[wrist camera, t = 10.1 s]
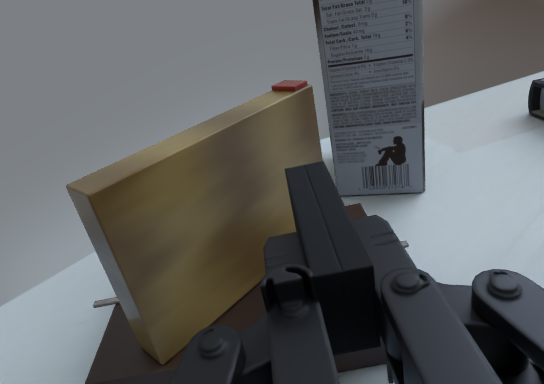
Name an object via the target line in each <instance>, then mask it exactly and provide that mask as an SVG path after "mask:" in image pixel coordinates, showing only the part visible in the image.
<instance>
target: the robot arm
mask: <svg viewBox="0 0 544 384" xmlns="http://www.w3.org/2000/svg"><path fill="white" fill-rule="evenodd" d="M285 174H286V180H287V185H288V190H289V195H290V201H291V206H292V211H293V217H294V222H295V227H296V232H293V233H288V234H282V235H277V236H272V237H269V238H268V239H267V241H266V243H265V245H264V247H263V251H264V261H265V272H266V274H265V276H264V277H263V278H262V279H261V284H260V289H261V293H262V297H263V300H264V304H265V308H266V311H265V312H264V314H263V315H262V316H261V317H260V318H259V319H258V320H257V321H256V322H254V323H253V324H251V325H249V326H247V327H245V328H243V329H241V330H239V331H237V330H236V329H235V328H233V327H232V326H230V325H224V324H218V325H212V326H209V327H207V328H205V329H202V330H200V331H199V332H198V333H197V334H196V335H194V336H193V337H192V338H191V340H190V342H189V343H188V345H187V346H186V349H185V351H184V354H183V356H182V358H181V361H180V363H179V365H178V368H177V370H176V373H175V375H174V377H173V380H172V382H171V384H340V381H339V377H338V373H337V369H336V365H335V361H334V357H333V356H335V355H340V354H345V353H351V352H356V351H361V350H366V349H371V348H377V347H381V342H380V336H381V338H382V341H383V343H384V346H385V350H386V361H387V373H388V381H389V384H390V383H393V380H394V383H395V384H544V289H543V288H542V287H540V286H539V285H537V284H536V283H534V282H533V281H531V280H530V279H529V278H527V277H525V276H523V275H521V274H519V273H516V272H512V271H508V270H499V269H492V270H488V271H483V272H481V273H480V274H478V275H477V276H475V278H474V280H473V282H472V286H465V285H448V284H442V283H438V282H436V281H435V280H434V279H433V278H432V277H431V276H430V275H429V274H428V273H426V272H424V271H422V270H420V269H417V268H416V266H415V264H414V263H413V261H412V260H411V258H410V257H409V255H408V253H407V252H406V250H405V249H404V247H403V245H402V244H401V242H400V241H399V239H398V237H397V236H396V234H395V233H394V231H393V229H392V228H391V226H390V225H389V223H388V222H387V221H386V220H384V219H382V218H381V217H379V216H377V215H373V216H368V217H363V218H358V219H352V220H351V218H350V216H349V214H348V212H347V210H346V207H345V205H344V203H343V201H342V199H341V197H340V195H339V193H338V191H337V189H336V187H335V185H334V182H333V180H332V178H331V176H330V174H329V172H328V170H327V168H326V166H325V164H324V162H323V161H321V162H316V163H311V164H306V165H301V166H296V167H291V168H286V169H285Z"/></svg>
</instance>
